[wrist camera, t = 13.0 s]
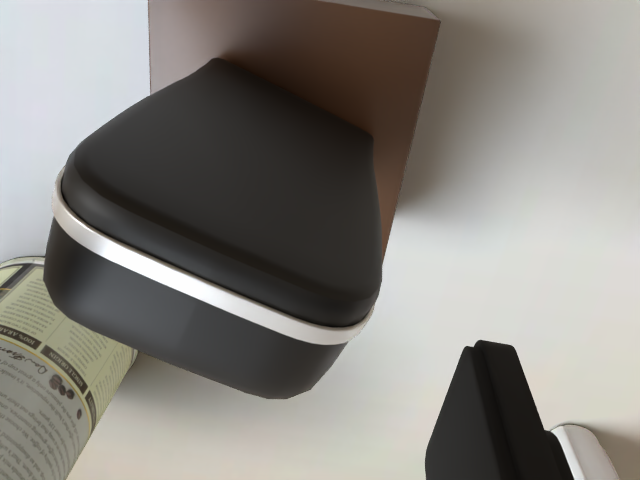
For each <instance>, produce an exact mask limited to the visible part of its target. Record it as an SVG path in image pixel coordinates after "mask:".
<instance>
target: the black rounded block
mask: <svg viewBox="0 0 640 480" xmlns="http://www.w3.org/2000/svg"><path fill="white" fill-rule="evenodd" d="M373 147H374V139H373V137H372V135H371V134H369V133H368V132H366V131H364V130H362V129H360V128H358V127H356V126H354V125H353V124H351V123H349V122H347V121H345V120H343V119H341V118H339V117H337V116H335V115H333V114H331V113H329V112H327V111H325V110H323V109H321V108H319V107H318V106H316V105H314V104H312V103H310V102H308V101H306V100H304V99H302V98H300V97H298V96H296V95H294V94H292V93H290V92H288V91H286V90H284V89H282V88H280V87H278V86H276V85H274V84H272V83H270V82H268V81H266V80H264V79H262V78H260V77H258V76H256V75H254V74H252V73H250V72H248V71H246V70H244V69H242V68H240V67H238V66H236V65H234V64H232V63H230V62H228V61H226V60H224V59H221V58H218V57H217V58H212V59H211V60H210V61H209V62H208V63H206V64H205V65H204V66H202V67H201V68H199V69H198V70H197V71H195V72H194V73H192V74H190V75H189V76H187V77H185V78H183V79H181V80H178V81H176V82H174V83H172V84H171V85H168V86H167V87H165V88H163V89H161V90H159V91H157V92H155V93H153V94H152V95H150V96H148V97H146V98H144V99H143V100H141V101H139V102H138V103H136V104H134V105H133V106H131V107H129V108H128V109H126V110H125V111H123V112H122V113H120V114H119V115H117V116H116V117H114V118H113V119H112V120H110V121H109V122H107V123H106V124H105V125H103V126H102V127H100V128H99V129H98V130H96V131H95V132H94V133H92V134H91V135H90V136H88V137H87V138H86V139H84V140H83V141H82V142H81V143H80V144H79V145H78V146H77V147H76V149H75V150H74V151H73V152H72V153H71V154H70V155H69V158H68V160H67V162H66V165H65V166H64V167H63V169H62V170H61V171H60V173H59V174H58V176H57V179H56V182H55V186H54V191H53V195H52V210H53V213H54V217H53V221H52V225H51V230H50V234H49V238H48V242H47V247H46V254H45V261H44V273H43V281H44V283H45V286H46V288H47V290H48V293H49V295H50V297H51V299H52V301H53V303H54V305H55V306H56V307H57V308H58V309H59V310H60V311H61V312H62V313H63V314H64V315H66V316H67V317H68V318H69V319H71V320H72V321H74V322H76V323H78V324H80V325H82V326H84V327H86V328H88V329H89V330H91V331H94V332H96V333H98V334H101V335H103V336H105V337H108V338H110V339H112V340H115V341H117V342H119V343H122V344H124V345H127V346H129V347H131V348H134V349H136V350H138V351H141V352H143V353H145V354H148V355H150V356H152V357H155V358H157V359H160V360H162V361H164V362H167V363H169V364H172V365H174V366H177V367H179V368H182V369H185V370H187V371H190V372H193V373H195V374H198V375H200V376H203V377H206V378H208V379H211V380H214V381H216V382H219V383H221V384H224V385H227V386H229V387H232V388H235V389H237V390H240V391H243V392H245V393H249V394H252V395H256V396H259V397H263V398H266V399H288V398H291V397H293V396H296V395H298V394H301V393H303V392H306V391H308V390H310V389H311V388H312V387H313V386H314V385H315V384H316V383H317V382H318V381H319V380H320V379H321V377H322V376H323V375H324V374H325V373H326V372H327V371H328V370H329V368H330V367H331V366H332V365H333V363H334V362H335V360H336V359H337V357H338V356H339V355H340V353H341V352H342V350H343V349H344V347H345V346H346V344H347V343H348V341H349V340H351V339H353V338H354V337H355V336H357V335H358V334H359V333H360V332H361V330H362V329H363V327H364V326H365V324H366V323H367V322H368V320H369V319H370V317H371V315H372V313H373V310H374V306H375V302H376V300H377V298H378V295H379V291H380V287H381V282H382V227H381V214H380V205H379V197H378V190H377V183H376V177H375V172H374V163H373Z"/></svg>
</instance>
